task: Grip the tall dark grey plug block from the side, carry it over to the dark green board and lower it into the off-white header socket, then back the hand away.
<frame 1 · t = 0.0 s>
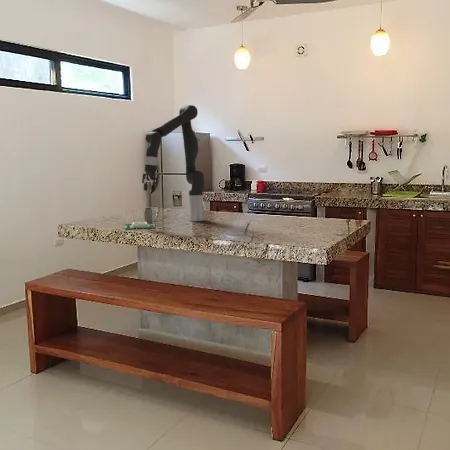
hand: (149, 190, 315), 22 cm above the countertop, fingers open, 8 cm apart
mount board: (139, 227, 314), on the countertop
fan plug: (148, 224, 327), on the countertop
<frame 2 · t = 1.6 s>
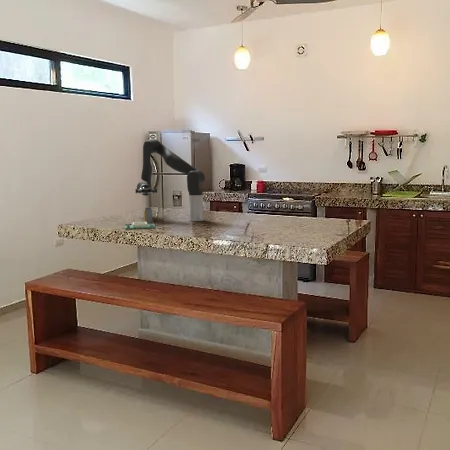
hand: (146, 191, 334), 20 cm above the countertop, fingers open, 8 cm apart
nothing on the countertop moved.
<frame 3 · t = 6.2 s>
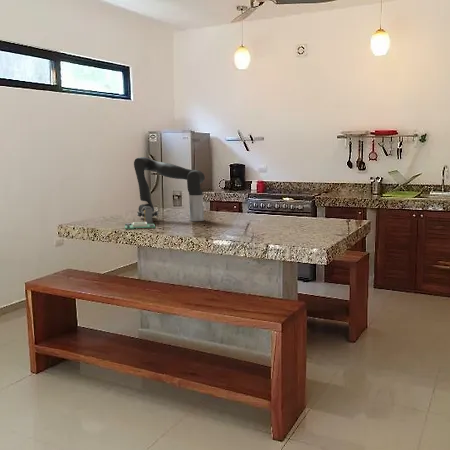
hand: (148, 215, 323), 6 cm above the countertop, fingers closed on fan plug, 5 cm apart
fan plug: (148, 224, 327), on the countertop, touching gripper
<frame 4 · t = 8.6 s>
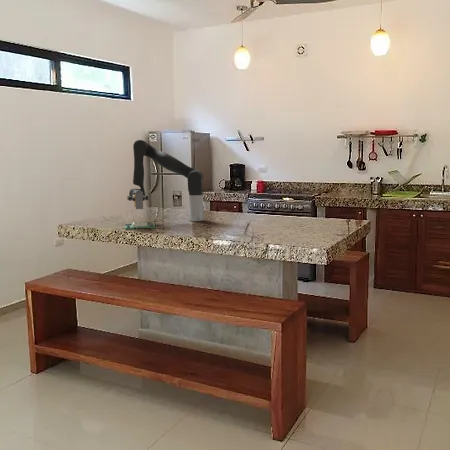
hand: (138, 199, 309), 18 cm above the countertop, fingers closed on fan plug, 5 cm apart
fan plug: (139, 208, 312), point 12 cm above the countertop, touching gripper
when the fingers open (8 cm above the countertop, at t = 11.3 s): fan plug stays where it is, resting on mount board.
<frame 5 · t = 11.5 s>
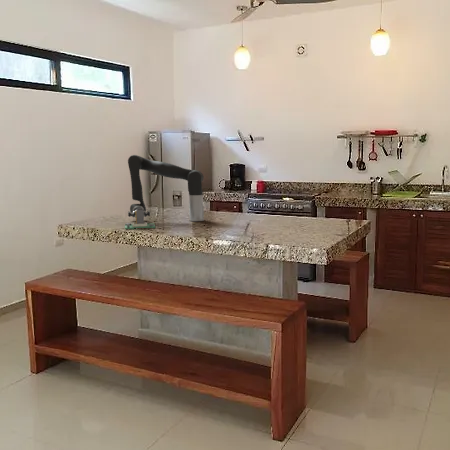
hand: (139, 215, 311), 8 cm above the countertop, fingers open, 6 cm apart
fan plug: (140, 225, 314), point 1 cm above the countertop, touching mount board
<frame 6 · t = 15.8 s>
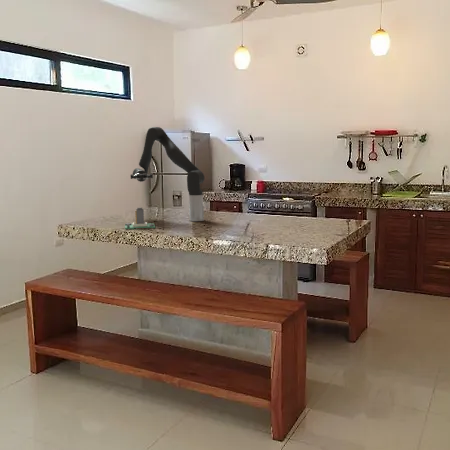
hand: (141, 177, 326), 30 cm above the countertop, fingers open, 8 cm apart
nothing on the countertop moved.
at the end: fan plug inside the target area on the mount board (0.4 cm from its centre), point 1.2 cm above the mount board's base; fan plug tilted 0°; the gripper is holding nothing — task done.
